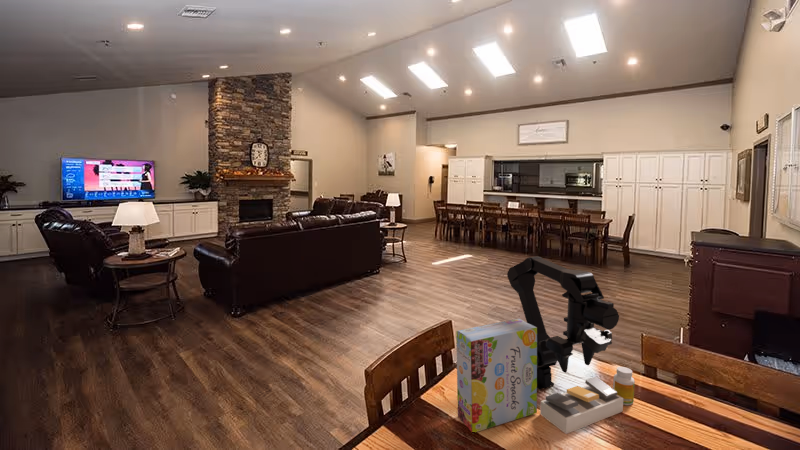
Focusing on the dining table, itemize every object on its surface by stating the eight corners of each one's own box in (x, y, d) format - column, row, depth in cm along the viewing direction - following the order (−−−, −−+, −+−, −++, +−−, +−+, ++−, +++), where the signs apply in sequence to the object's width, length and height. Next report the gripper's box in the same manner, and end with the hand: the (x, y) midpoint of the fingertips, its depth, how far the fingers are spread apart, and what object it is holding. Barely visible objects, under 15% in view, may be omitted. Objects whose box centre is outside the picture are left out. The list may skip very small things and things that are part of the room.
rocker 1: (545, 400, 104) (545, 396, 104) (557, 396, 106) (557, 392, 106) (566, 409, 98) (565, 405, 98) (578, 405, 99) (577, 401, 99)
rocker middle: (566, 392, 107) (566, 389, 107) (577, 389, 109) (577, 385, 109) (587, 402, 101) (587, 398, 101) (599, 398, 103) (598, 394, 103)
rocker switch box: (540, 414, 105) (540, 400, 105) (594, 395, 114) (595, 382, 114) (566, 433, 97) (566, 419, 97) (622, 411, 106) (623, 397, 105)
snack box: (517, 398, 113) (519, 316, 110) (537, 414, 105) (540, 327, 102) (455, 415, 105) (455, 328, 102) (471, 435, 97) (472, 341, 94)
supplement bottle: (636, 406, 108) (638, 375, 107) (616, 404, 109) (617, 373, 108) (629, 396, 113) (630, 366, 112) (609, 394, 114) (611, 364, 113)
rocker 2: (585, 382, 110) (585, 379, 110) (595, 379, 112) (596, 376, 112) (606, 398, 104) (606, 395, 104) (616, 395, 106) (617, 391, 106)
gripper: (579, 333, 94) (577, 391, 96) (627, 320, 101) (624, 373, 103) (545, 318, 104) (543, 371, 106) (591, 307, 111) (588, 356, 113)
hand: (575, 368), depth 107 cm, fingers open, 9 cm apart
